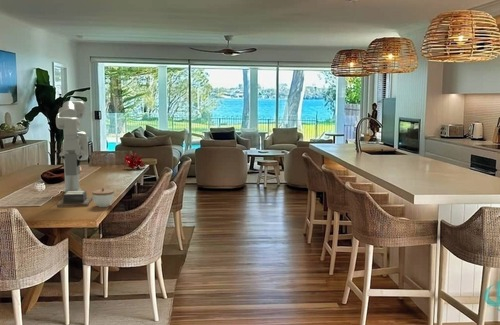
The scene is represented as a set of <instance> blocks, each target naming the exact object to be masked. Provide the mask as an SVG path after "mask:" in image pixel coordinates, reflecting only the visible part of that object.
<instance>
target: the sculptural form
mask: <svg viewBox="0 0 500 325" xmlns="http://www.w3.org/2000/svg"><path fill="white" fill-rule="evenodd" d="M129 154H130V150H128V152H127V154H126V155H125V157H124V158H123V160H124V161H123V163H122V165H124V169H125V168H126V167H128V168H130V169H132V170H135V169H140V168H143V167H147V166H146V164H145V162H144V160H142V159H143V157H144V156H141V155H139V156H138V155H137V153H136V152H134V151H132V152H131V154H130V155H129Z"/></svg>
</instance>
